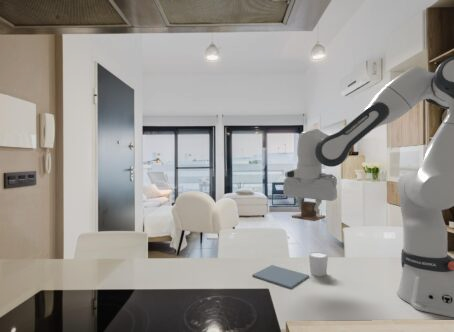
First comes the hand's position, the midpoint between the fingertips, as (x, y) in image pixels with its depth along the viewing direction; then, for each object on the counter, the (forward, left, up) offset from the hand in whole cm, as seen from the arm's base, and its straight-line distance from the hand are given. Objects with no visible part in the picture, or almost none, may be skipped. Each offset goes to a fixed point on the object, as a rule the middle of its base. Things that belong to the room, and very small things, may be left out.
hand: (308, 210), depth 108 cm
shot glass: (-3, -3, -24) cm, 24 cm away
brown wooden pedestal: (0, 0, -3) cm, 3 cm away
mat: (+6, +9, -24) cm, 26 cm away
